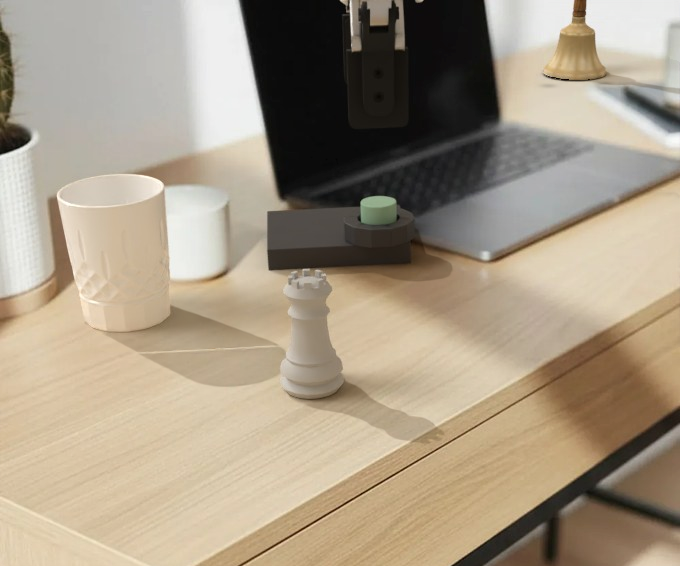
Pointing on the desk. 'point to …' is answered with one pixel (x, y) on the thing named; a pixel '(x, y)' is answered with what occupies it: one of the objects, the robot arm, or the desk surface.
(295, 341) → the rook chess piece
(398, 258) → the scale
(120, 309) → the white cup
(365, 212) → the button
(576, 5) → the hand bell
